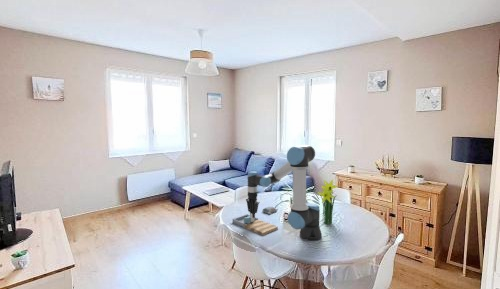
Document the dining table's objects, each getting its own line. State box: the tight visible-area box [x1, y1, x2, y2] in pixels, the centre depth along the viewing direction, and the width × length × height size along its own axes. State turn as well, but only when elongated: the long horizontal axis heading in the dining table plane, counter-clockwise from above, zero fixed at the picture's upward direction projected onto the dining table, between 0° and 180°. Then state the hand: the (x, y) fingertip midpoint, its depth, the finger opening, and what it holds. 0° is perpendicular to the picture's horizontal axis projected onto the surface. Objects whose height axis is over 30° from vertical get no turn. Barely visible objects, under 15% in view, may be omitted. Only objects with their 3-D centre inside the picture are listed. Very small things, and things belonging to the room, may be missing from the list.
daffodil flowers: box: [316, 178, 339, 226], centre depth 207 cm, size 17×15×35 cm
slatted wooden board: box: [243, 219, 279, 236], centre depth 201 cm, size 20×16×2 cm
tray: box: [232, 214, 259, 228], centre depth 213 cm, size 13×16×3 cm
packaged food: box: [261, 206, 279, 215], centre depth 234 cm, size 9×12×5 cm
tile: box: [243, 216, 255, 223], centre depth 210 cm, size 6×6×4 cm
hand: (252, 221), depth 207 cm, fingers closed
